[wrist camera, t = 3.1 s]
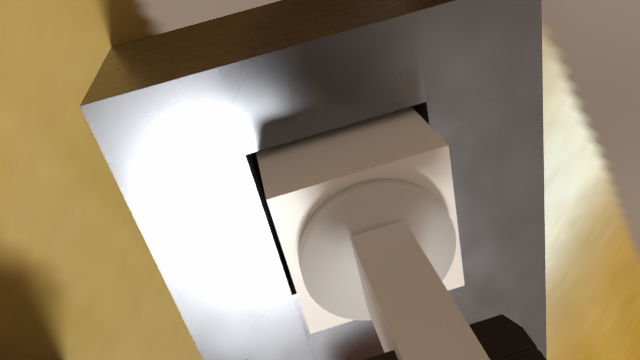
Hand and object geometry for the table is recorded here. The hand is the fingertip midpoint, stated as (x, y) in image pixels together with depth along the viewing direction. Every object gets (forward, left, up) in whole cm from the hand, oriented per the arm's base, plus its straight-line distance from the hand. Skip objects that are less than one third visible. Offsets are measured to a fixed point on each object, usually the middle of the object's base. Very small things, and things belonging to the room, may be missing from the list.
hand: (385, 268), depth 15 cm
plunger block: (+5, 0, -9) cm, 11 cm away
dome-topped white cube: (0, 0, -7) cm, 7 cm away
